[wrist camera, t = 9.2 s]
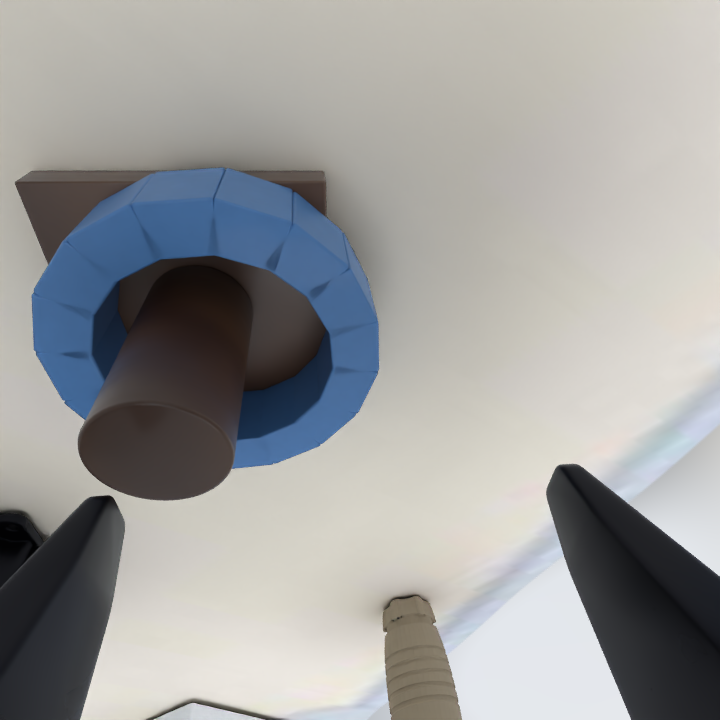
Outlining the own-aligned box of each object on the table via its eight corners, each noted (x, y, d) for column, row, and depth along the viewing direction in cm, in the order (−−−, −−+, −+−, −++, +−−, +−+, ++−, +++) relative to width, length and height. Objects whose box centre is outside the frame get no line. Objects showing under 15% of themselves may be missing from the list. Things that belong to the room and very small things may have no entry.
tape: (129, 430, 18) (109, 482, 16) (7, 180, 12) (-47, 215, 10) (371, 406, 18) (380, 453, 16) (364, 157, 13) (377, 186, 11)
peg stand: (115, 390, 18) (34, 569, 12) (29, 170, 13) (-170, 302, 7) (327, 380, 18) (341, 543, 13) (324, 170, 14) (344, 288, 8)
